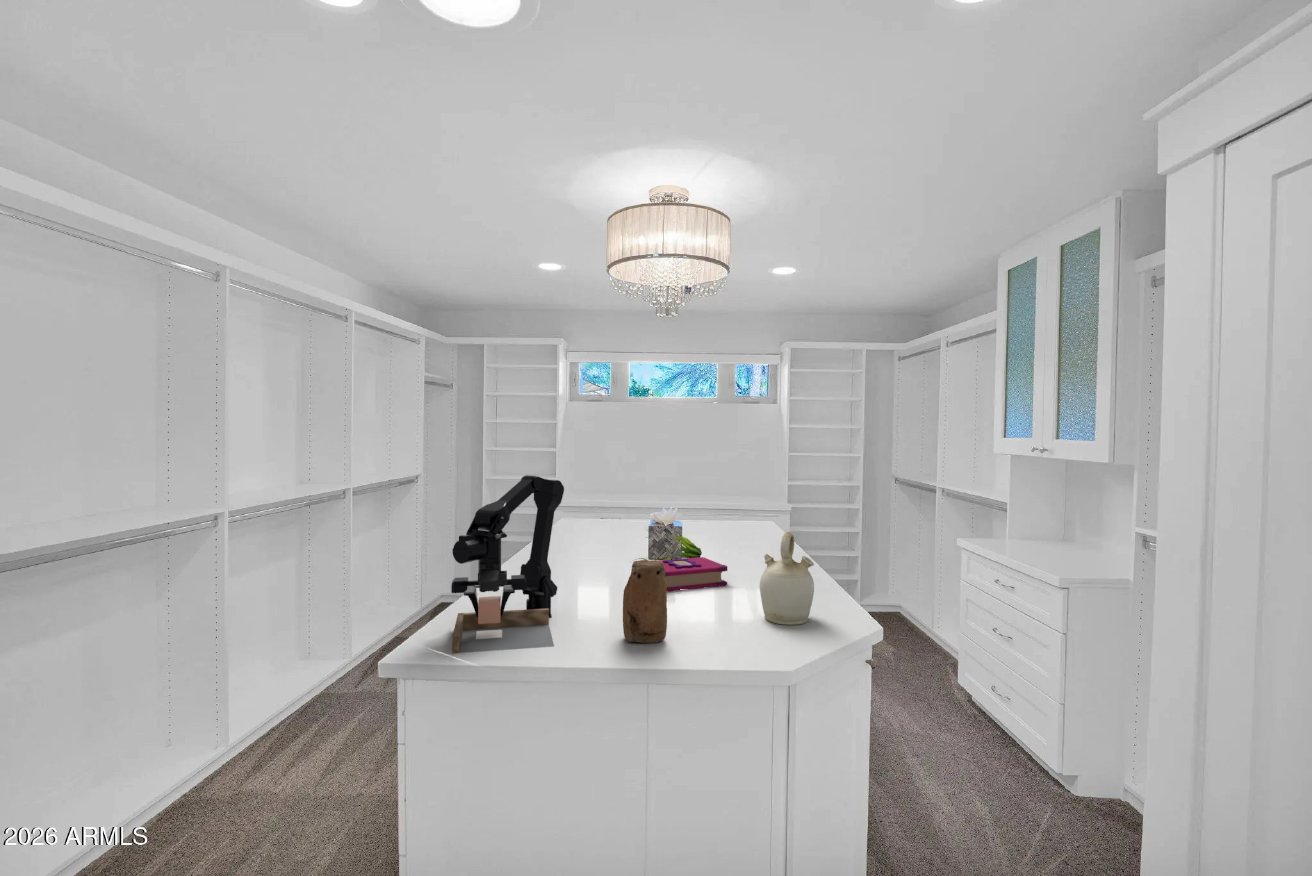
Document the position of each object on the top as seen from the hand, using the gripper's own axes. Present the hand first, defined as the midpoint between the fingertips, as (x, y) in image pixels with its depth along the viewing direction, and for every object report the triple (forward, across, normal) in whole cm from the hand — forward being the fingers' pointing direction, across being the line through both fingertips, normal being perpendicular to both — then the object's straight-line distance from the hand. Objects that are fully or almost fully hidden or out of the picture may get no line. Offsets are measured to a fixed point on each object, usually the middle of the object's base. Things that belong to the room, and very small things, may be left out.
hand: (489, 616), depth 167 cm
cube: (+1, 0, 0) cm, 1 cm away
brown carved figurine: (+5, +39, -12) cm, 41 cm away
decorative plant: (+6, +70, +83) cm, 108 cm away
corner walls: (+5, +4, -3) cm, 7 cm away
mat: (+5, +4, -3) cm, 7 cm away
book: (+6, +65, +48) cm, 81 cm away
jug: (+5, +83, -2) cm, 83 cm away
